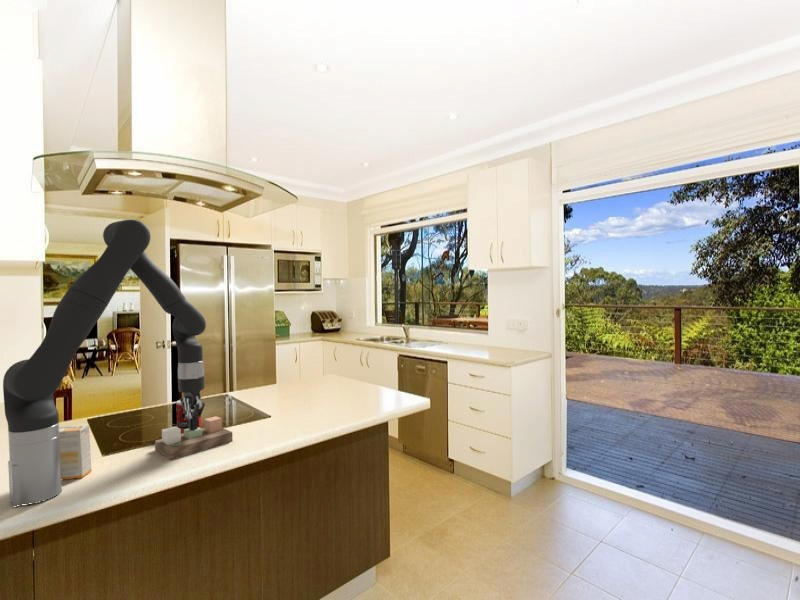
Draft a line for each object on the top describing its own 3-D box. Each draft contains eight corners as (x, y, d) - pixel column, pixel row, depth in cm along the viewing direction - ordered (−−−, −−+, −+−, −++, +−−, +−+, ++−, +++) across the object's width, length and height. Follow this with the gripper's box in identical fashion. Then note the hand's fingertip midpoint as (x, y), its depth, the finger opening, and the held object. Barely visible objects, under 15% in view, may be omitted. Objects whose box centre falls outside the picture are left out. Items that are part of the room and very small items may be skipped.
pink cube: (210, 433, 136) (209, 421, 136) (204, 431, 139) (204, 419, 139) (221, 430, 139) (221, 418, 139) (216, 427, 142) (215, 416, 142)
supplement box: (92, 471, 116) (90, 424, 115) (82, 478, 111) (80, 429, 111) (59, 473, 114) (57, 426, 114) (47, 481, 110) (45, 432, 109)
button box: (170, 459, 122) (170, 447, 122) (155, 450, 130) (154, 438, 130) (232, 441, 137) (232, 430, 137) (215, 433, 145) (215, 423, 145)
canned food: (174, 436, 143) (173, 404, 143) (180, 428, 150) (179, 398, 150) (199, 433, 145) (198, 402, 145) (203, 426, 153) (202, 396, 152)
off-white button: (167, 445, 126) (166, 432, 126) (162, 442, 129) (161, 429, 129) (181, 441, 129) (180, 428, 129) (175, 438, 132) (175, 426, 132)
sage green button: (189, 444, 131) (189, 432, 131) (184, 442, 134) (183, 429, 134) (202, 441, 134) (202, 428, 134) (196, 438, 137) (196, 426, 137)
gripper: (170, 375, 135) (172, 428, 136) (187, 380, 126) (190, 437, 127) (194, 371, 141) (196, 422, 141) (212, 376, 132) (214, 430, 133)
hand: (193, 429), depth 134 cm, fingers closed
